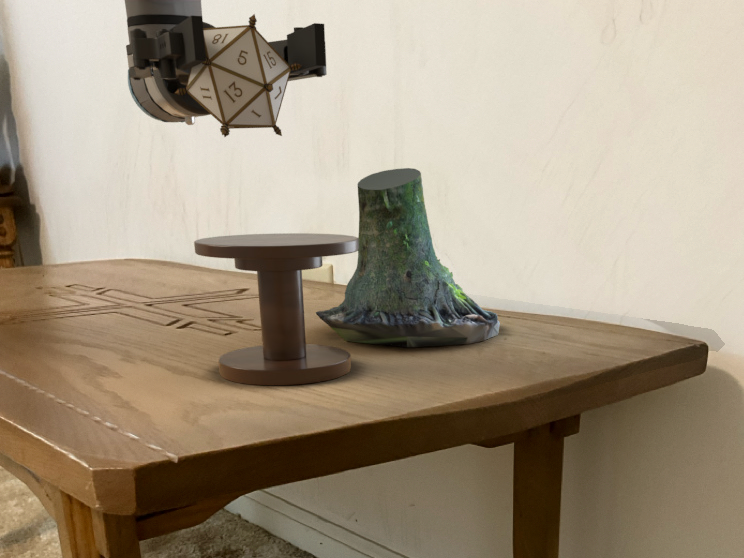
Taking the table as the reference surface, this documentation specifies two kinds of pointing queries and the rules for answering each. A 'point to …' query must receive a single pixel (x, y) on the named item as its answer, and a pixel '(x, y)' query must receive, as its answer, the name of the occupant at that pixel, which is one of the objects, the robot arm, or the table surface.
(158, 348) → the table surface
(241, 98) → the game die
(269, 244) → the pedestal stand
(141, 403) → the table surface
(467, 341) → the tree stump
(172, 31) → the robot arm
